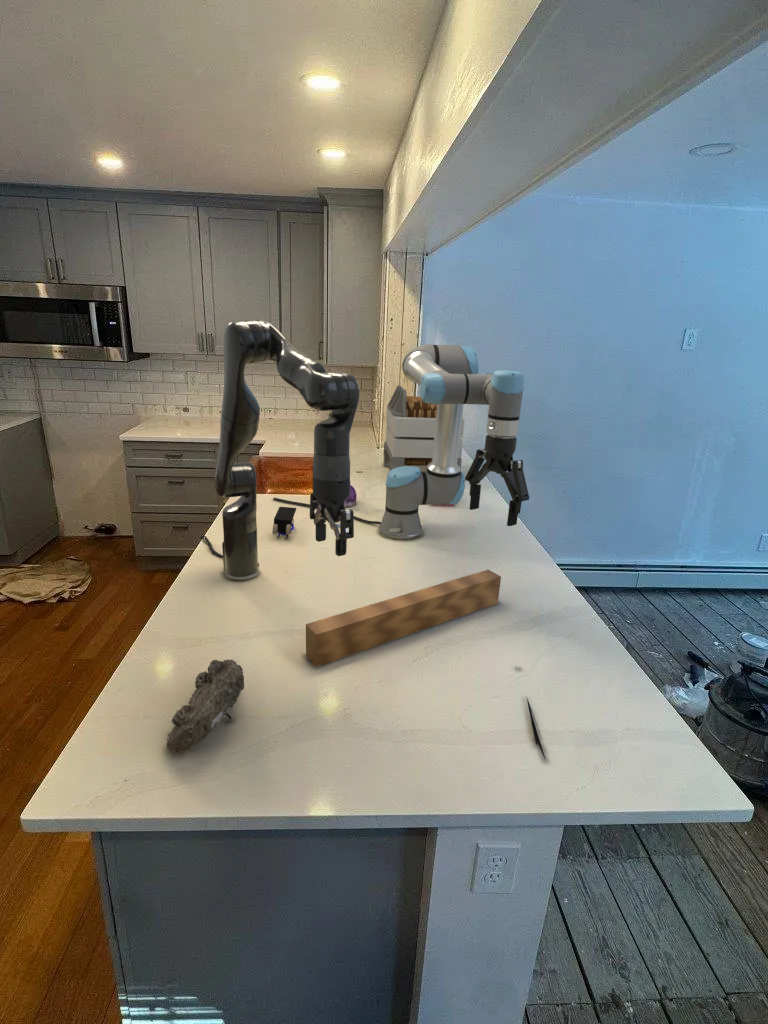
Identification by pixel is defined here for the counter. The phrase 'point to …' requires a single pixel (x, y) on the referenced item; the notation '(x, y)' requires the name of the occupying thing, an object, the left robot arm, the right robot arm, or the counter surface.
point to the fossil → (206, 705)
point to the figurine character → (284, 521)
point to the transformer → (411, 431)
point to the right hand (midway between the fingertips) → (492, 516)
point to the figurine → (350, 497)
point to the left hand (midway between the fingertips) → (330, 547)
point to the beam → (399, 616)
